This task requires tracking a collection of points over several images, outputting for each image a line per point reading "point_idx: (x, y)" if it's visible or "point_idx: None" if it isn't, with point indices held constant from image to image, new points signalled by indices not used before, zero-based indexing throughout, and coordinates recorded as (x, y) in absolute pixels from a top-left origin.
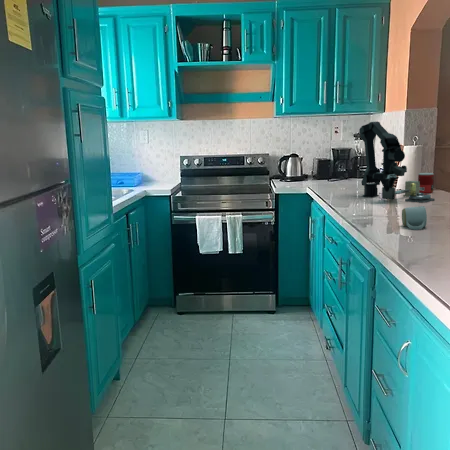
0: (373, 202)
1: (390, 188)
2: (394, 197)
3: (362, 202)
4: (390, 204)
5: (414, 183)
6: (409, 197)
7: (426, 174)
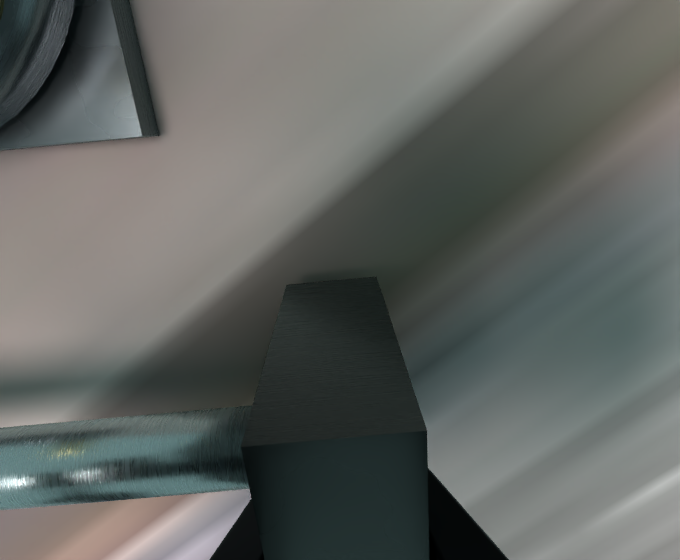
0: (594, 411)
1: (425, 475)
2: (296, 297)
3: (665, 501)
4: (663, 67)
5: None
6: (37, 61)
7: None
